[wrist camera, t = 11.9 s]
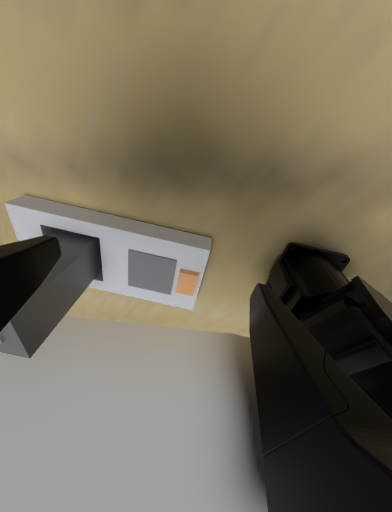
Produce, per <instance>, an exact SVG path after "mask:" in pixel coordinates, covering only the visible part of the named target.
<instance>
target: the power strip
mask: <svg viewBox="0 0 392 512" xmlns="http://www.w3.org/2000/svg"><path fill="white" fill-rule="evenodd" d="M5 206H6V209H7V212H8V214H9V217H10V220H11V223H12V225H13V228H14V231H15V233H16V236H17V239H18V241H22V240H27V239H31V238H35V237H39V236H44V235H46V234H48V233H49V232H51V231H52V230H54V229H55V228H58V229H62V230H67V231H71V232H75V233H80V234H84V235H88V236H93V237H97V238H100V249H101V260H102V270H101V271H100V272H99V273H98V275H97V276H96V277H95V278H94V280H93V281H92V282H91V283H90V284H89V286H88V287H90V288H95V289H99V290H104V291H108V292H113V293H117V294H122V295H126V296H130V297H135V298H139V299H144V300H148V301H153V302H157V303H162V304H166V305H171V306H175V307H180V308H184V309H188V310H193V308H194V305H195V301H196V298H197V294H198V291H199V288H200V284H201V281H202V277H203V274H204V271H205V267H206V264H207V260H208V257H209V254H210V249H211V238H209V237H205V236H200V235H196V234H192V233H187V232H183V231H179V230H175V229H170V228H166V227H162V226H157V225H153V224H149V223H145V222H140V221H136V220H132V219H127V218H123V217H119V216H115V215H110V214H106V213H102V212H97V211H93V210H89V209H84V208H80V207H76V206H72V205H67V204H63V203H59V202H54V201H50V200H46V199H42V198H37V197H33V196H29V195H24V196H21V197H19V198H16V199H13V200H11V201H8V202H6V203H5Z"/></svg>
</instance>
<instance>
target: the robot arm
mask: <svg viewBox="0 0 392 512" xmlns="http://www.w3.org/2000/svg"><path fill="white" fill-rule="evenodd" d="M291 247H294V248H293V249H290V248H291ZM60 257H61V248H60V244H59V240H58V238H57V237H55V236H50V235H44V236H39V237H35V238H31V239H27V240H22V241H18V242H14V243H10V244H5V245H1V246H0V332H1V331H2V330H3V328H4V327H5V326H6V325H7V324H8V323H9V322H10V320H11V319H12V318H13V317H14V316H15V315H16V313H17V312H18V311H19V310H20V309H21V308H22V307H23V305H24V304H25V303H26V302H27V301H28V300H29V298H30V297H31V296H32V295H33V294H34V293H35V292H36V290H37V289H38V288H39V287H40V286H41V284H42V283H43V282H44V280H45V279H46V277H47V276H48V275H49V273H50V272H51V270H52V269H53V267H54V266H55V264H56V263H57V262H58V260H59V259H60ZM343 259H345V260H343ZM342 260H343V261H342ZM349 261H350V258H349V257H348V256H347V255H344V254H339V253H335V252H331V251H327V250H322V249H318V248H314V247H310V246H305V245H301V244H297V243H290V244H288V245H287V247H286V249H285V251H284V252H283V254H282V256H281V258H280V259H279V260H277V262H276V264H275V266H274V267H273V269H272V271H271V273H270V275H269V280H268V281H267V283H266V284H261V283H258V284H257V285H256V287H255V289H254V291H253V292H252V294H251V297H250V341H251V351H252V360H253V370H254V380H255V389H256V399H257V408H258V418H259V428H260V437H261V446H262V455H263V466H264V477H265V486H266V496H267V506H268V512H392V303H391V302H390V301H389V300H388V299H387V298H385V297H384V296H383V295H382V294H380V293H379V292H378V291H377V290H375V289H374V288H373V287H372V286H370V285H369V284H368V283H367V282H365V281H364V280H363V279H362V278H360V277H359V276H356V277H355V278H353V279H351V280H352V281H351V282H349V280H348V279H347V278H346V276H345V275H344V274H343V273H342V270H343V269H344V268H345V267H346V265H347V264H348V263H349Z"/></svg>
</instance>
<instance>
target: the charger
mask: <svg viewBox="0 0 392 512" xmlns="http://www.w3.org/2000/svg"><path fill="white" fill-rule="evenodd" d="M46 235H50V236H55V237H57V238H58V240H59V244H60V248H61V257H60V259H59V260H58V262H57V263H56V264H55V266H54V267H53V269H52V270H51V272H50V273H49V275H48V276H47V277H46V279H45V280H44V282H43V283H42V284H41V286H40V287H39V288H38V289H37V290H36V292H35V293H34V294H33V295H32V296H31V297H30V298H29V300H28V301H27V302H26V303H25V304H24V305H23V307H22V308H21V309H20V310H19V311H18V312H17V313H16V315H15V316H14V317H13V318H12V319H11V320H10V322H9V323H8V324H7V325H6V326H5V327H4V328H3V330H2V331H1V332H0V352H3V353H7V354H12V355H17V356H22V357H27V358H31V357H32V355H33V354H34V353H35V352H36V350H37V349H38V348H39V347H40V345H41V344H42V343H43V342H44V340H45V339H46V338H47V337H48V335H49V334H50V333H51V332H52V330H53V329H54V328H55V327H56V325H57V324H58V323H59V322H60V321H61V319H62V318H63V317H64V316H65V314H66V313H67V312H68V311H69V309H70V308H71V307H72V306H73V304H74V303H75V302H76V301H77V299H78V298H79V297H80V296H81V294H82V293H83V292H84V291H85V289H86V288H87V287H88V286H89V284H90V283H91V282H92V281H93V280H94V278H95V277H96V276H97V275H98V273H99V272H100V271H101V270H102V260H101V249H100V238H97V237H93V236H88V235H84V234H80V233H75V232H71V231H67V230H62V229H58V228H55V229H54V230H52V231H51V232H49V233H48V234H46Z"/></svg>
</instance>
